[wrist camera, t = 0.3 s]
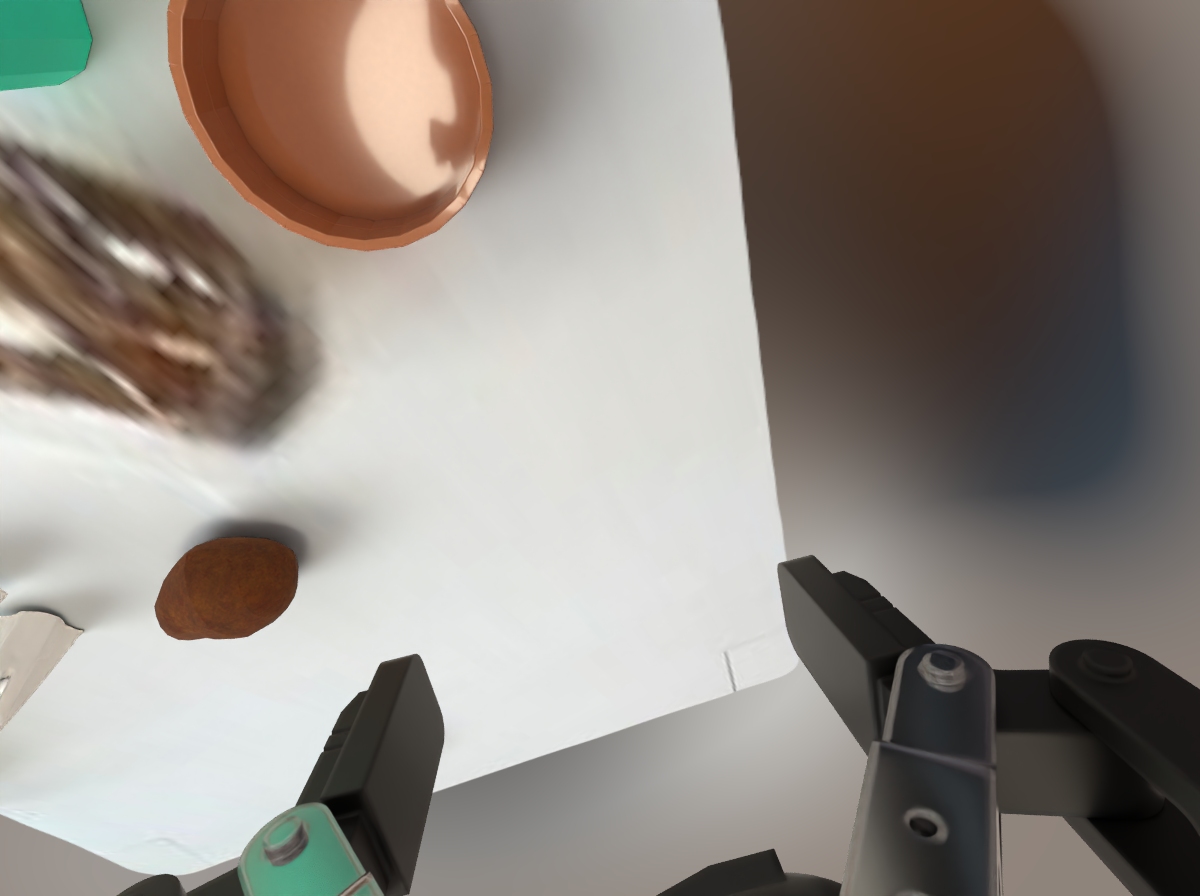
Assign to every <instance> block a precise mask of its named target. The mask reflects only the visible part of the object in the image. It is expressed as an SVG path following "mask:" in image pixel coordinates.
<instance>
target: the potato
mask: <svg viewBox="0 0 1200 896" xmlns="http://www.w3.org/2000/svg"><path fill="white" fill-rule="evenodd" d="M297 583H298V563H297V559H296V556H295V554H294V552H293V550H291V549H289V548H288V547H286V546H285V545H283V544H281V543H279V542H276V541H273V540H270V539H263V538H248V537H227V538H217V539H214V540H211V541H208V542H205V543H202V544H199V545H196V546H195V547H193V548H192V549H191V550H189V551H188V552H186V553H185V554H184V555H183V556H182V558H181V559H180V560H179V561H178V562H177V563H176V564H175V566H174V567H173V568H172V569H171V571H170V572H169V574H168V575H167V577H166V578H165V580H164V581H163V584H162V587H161V589H160V592H159V595H158V598H157V601H156V604H155V612H156V617H157V619H158V622H159V624H160V627H161V628H162V629H163V630H164V631H165V633H166V634H167V635H169V636H171V637H173V638H176V639H178V640H195V639H202V638H211V639H235V638H242V637H248V636H250V635H252V634H253V633H255V632H257V631H259V630H260V629H262V628H264V627H266V626H267V625H269V624H271V623H273V622H274V621H275V620H276V619H277V618H278V617H279V616H280V615H281V614H282V613H283V612H284V611H285V610H286V609H287V608H288V606H289V605H290V603H291V601H292V600H293V598H294V597H295V593H296V589H297Z"/></svg>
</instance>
